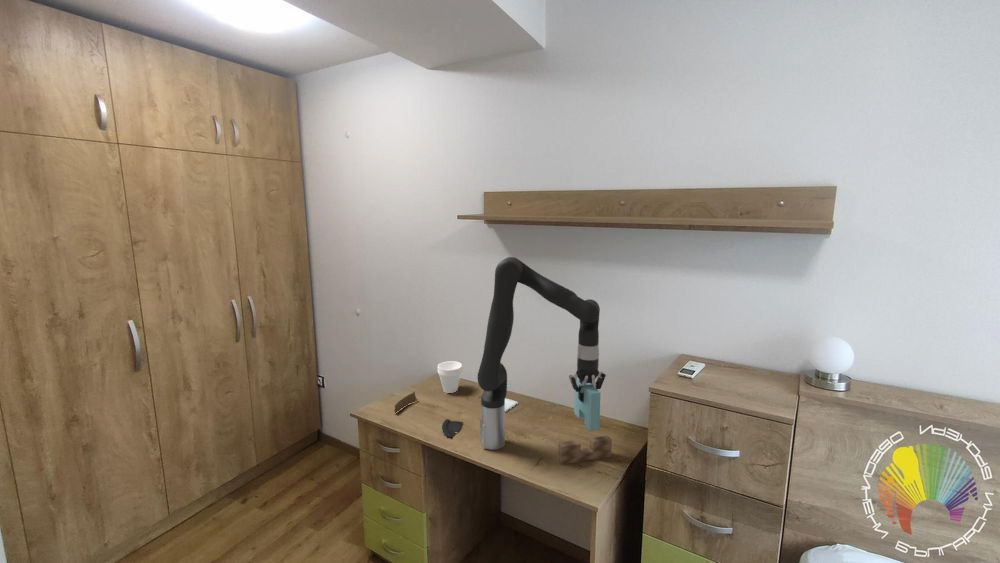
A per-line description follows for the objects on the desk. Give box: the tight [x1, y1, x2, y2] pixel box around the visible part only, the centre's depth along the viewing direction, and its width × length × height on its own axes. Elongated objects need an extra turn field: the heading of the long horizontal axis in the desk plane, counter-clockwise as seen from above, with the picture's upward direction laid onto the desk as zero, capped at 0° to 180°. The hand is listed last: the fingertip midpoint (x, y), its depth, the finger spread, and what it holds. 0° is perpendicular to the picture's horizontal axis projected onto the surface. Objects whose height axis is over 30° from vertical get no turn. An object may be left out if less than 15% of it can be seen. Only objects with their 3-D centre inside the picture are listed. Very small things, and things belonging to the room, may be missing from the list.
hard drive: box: [505, 397, 519, 413], centre depth 207 cm, size 2×8×12 cm
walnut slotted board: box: [557, 435, 613, 465], centre depth 165 cm, size 20×3×7 cm, turn 104°
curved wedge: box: [441, 418, 464, 439], centre depth 187 cm, size 8×14×2 cm, turn 172°
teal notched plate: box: [573, 377, 601, 432], centre depth 162 cm, size 14×4×14 cm, turn 14°
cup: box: [437, 360, 463, 394], centre depth 223 cm, size 12×12×14 cm
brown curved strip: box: [393, 391, 419, 414], centre depth 206 cm, size 15×2×5 cm, turn 154°
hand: (586, 400), depth 162 cm, fingers closed on teal notched plate, 3 cm apart
